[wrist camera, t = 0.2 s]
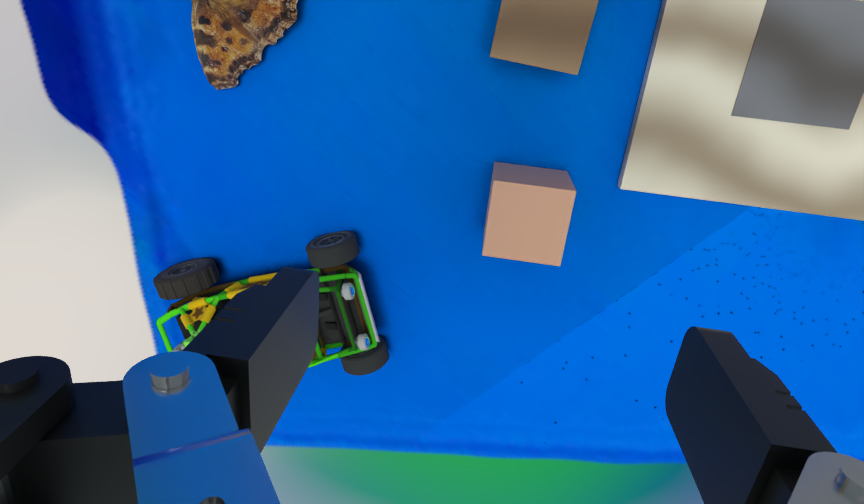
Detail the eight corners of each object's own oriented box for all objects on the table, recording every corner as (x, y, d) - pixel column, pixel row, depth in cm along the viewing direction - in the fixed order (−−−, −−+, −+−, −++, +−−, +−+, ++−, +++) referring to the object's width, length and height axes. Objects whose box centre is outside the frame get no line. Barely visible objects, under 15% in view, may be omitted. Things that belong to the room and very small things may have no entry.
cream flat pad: (693, -128, 31) (700, -133, 30) (1037, -96, 29) (1056, -100, 28) (617, 184, 38) (620, 189, 37) (892, 220, 36) (903, 226, 35)
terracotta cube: (494, 161, 38) (493, 180, 33) (567, 170, 38) (576, 191, 33) (484, 228, 40) (482, 255, 35) (553, 238, 40) (560, 266, 35)
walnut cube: (509, -34, 33) (511, -43, 29) (590, -17, 33) (605, -24, 29) (490, 52, 35) (489, 56, 31) (567, 68, 35) (577, 75, 31)
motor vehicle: (395, 346, 45) (369, 426, 36) (200, 371, 48) (133, 450, 39) (362, 226, 41) (324, 282, 32) (153, 262, 44) (67, 321, 36)
